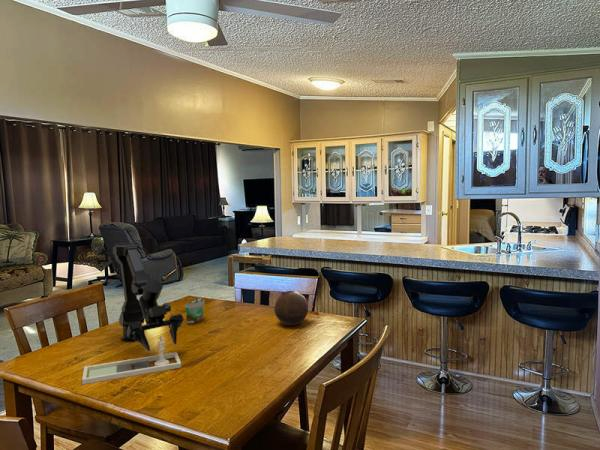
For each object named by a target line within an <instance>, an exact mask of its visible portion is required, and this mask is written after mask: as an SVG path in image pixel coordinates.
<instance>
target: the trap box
mask: <svg viewBox="0 0 600 450" xmlns="http://www.w3.org/2000/svg"><path fill="white" fill-rule="evenodd" d="M163 355H164V359H165V360H168V359H173V358H174V361H175V362H173V363H172V362H171V363H169V364H166V365H160V366H150V362H156V361H158V360H159V356H160V354H157V355H156V354H154V355H150V356H149V355H148V356H143V357H138V358H131V359H125V360H119V361H118V360H117V361H112V362H105V363H99V364H93V365H87V366H86V365H85V366H83V373H82V380H81V381H82V385H88V384H94V383H99V382H104V381H110V380H117V379H121V378H122V379H123V378H127V377H133V376H139V375H140V376H141V375H145V374H151V373H156V372H163V371H168V370H174V369H180V368H182V362H181V359H180V357H179V354H178V352H177V351H175V352H169V353H163ZM113 366H116V367H117V368H116V372H117V373H113V374H107V375H101V376H95V377H89V376H88V375H89V371H90V370H95V369H101V368H107V367H113ZM133 366H134V367H133Z"/></svg>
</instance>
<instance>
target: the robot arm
mask: <svg viewBox="0 0 600 450" xmlns="http://www.w3.org/2000/svg"><path fill="white" fill-rule="evenodd" d="M112 254H113V256H114V258H115V259H114V260H115V261H116V262H117V264H118V265H119V266H120V271H121V279H122V280H121V281H122V289H123V296H124V301H123V304H122V306H121V312H120V315H119V318H118V322H119V325H120V326H121V327H122V329H123V330H122V331H123V337H121V338H120V340H121V341H127V342H135V341H136V342H137V343H140V344H141V345H142V346H143V347H144V349H145V350H147V351H148V352H149V351H151V348H150V344H149V342H148V340H147V339H148V338H147V337H146V334H145V331H148V330H152V329H157V328H163V327H168V328H169V330H168V331H169V334H170V337H171V340H172V342H173V344H174V345H177V343H178V342H177V341H178V340H177V336H178V330H179V328H181V326H182V324H183V322H184V319H185V318H184V316H183V315H182V314H181V313H178V314H172V315H170V317H169V319H165V318H166V315H167V314H168V313H170V312H171V311H172V306H171V304H170V302H164V303H163V304H162V305H159V303H158V301H157V300H158V299H159V297H160V295H161V292H162V291H163V287H164V286H163V283H162V282H161V281H160V280H159V279H158V280H157V279H155V277H154V276H151V274H149V273H147V271H146V270H145V267H144V264H143V262H142V260H141V256H140V254H139V247H138V245H137V244H133V243H132V242H125V243H124V242H123V243H116V244H115V246H113V247H112ZM137 296H140V297H139V299H138V297H137ZM164 319H165V320H164ZM144 322H145V323H144Z"/></svg>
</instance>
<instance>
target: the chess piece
mask: <svg viewBox="0 0 600 450" xmlns="http://www.w3.org/2000/svg"><path fill="white" fill-rule="evenodd" d="M158 340H159V341H158V342H157V345H158V346H159V347H158V348H157V350H158V351H159V355H160V356H159V360H156V361H154V366H160V365H166V364H170V361H169V360H168V359H164V355H163V354H164V350H165V347H164V344H165V341H164V338H163V337H162V335H160V336H159V337H158ZM154 366H153V367H154Z"/></svg>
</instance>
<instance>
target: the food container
mask: <svg viewBox="0 0 600 450" xmlns="http://www.w3.org/2000/svg"><path fill="white" fill-rule="evenodd" d="M184 304H185V305H184V308H185V315H186V317H185V318H186V324H187V325H190V326H191V325H197V324H201V323H202V322H203V320H204V319H203V318H204V305H205V304H206V302H205V300H204V298H203V297H200V296H199V297H198V296H196V298H195V299H194V300H191V301H190V302H189V303H188V302H187V303H184Z"/></svg>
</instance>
